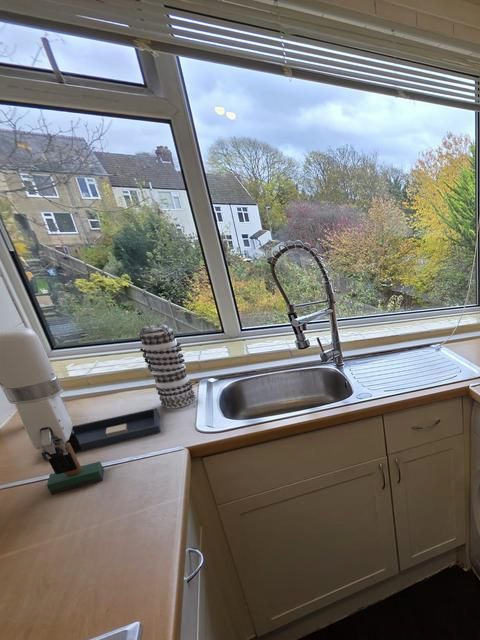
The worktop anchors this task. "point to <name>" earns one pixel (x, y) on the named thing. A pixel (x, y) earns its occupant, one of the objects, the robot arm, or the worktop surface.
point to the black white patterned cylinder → (166, 366)
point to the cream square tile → (116, 430)
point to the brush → (75, 475)
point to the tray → (95, 431)
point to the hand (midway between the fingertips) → (69, 461)
